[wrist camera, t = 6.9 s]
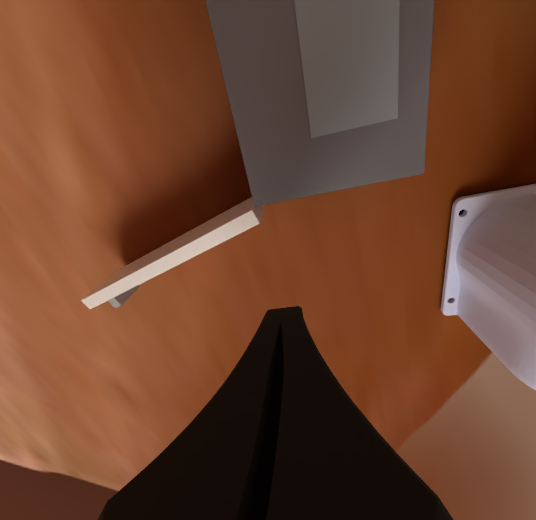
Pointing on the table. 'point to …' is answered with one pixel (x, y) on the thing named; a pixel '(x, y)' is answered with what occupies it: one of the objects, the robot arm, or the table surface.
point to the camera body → (325, 90)
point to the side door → (175, 253)
